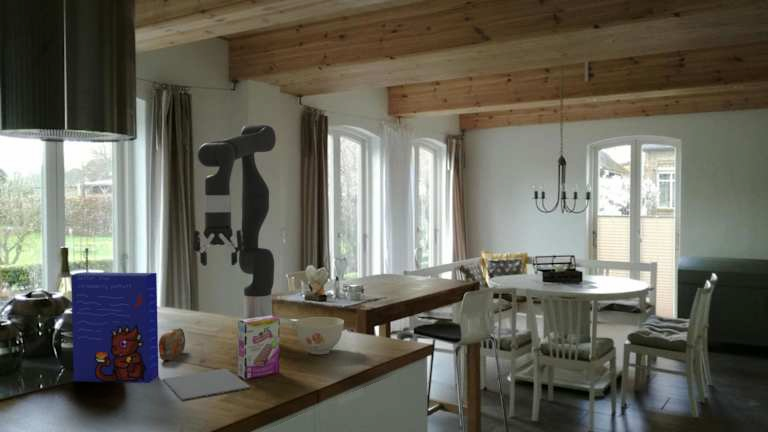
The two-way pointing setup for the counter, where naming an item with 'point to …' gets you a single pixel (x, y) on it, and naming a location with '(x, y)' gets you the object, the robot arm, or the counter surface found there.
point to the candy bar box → (258, 347)
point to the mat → (205, 383)
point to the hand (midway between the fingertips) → (219, 265)
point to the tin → (171, 344)
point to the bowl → (319, 333)
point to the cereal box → (115, 327)
